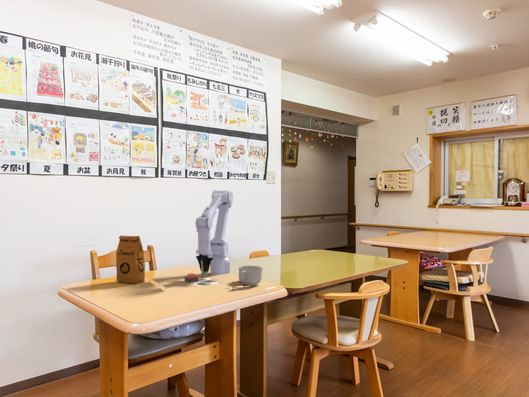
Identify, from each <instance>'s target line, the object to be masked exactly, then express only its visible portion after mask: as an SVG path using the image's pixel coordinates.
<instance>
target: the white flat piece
mask: <svg viewBox="0 0 529 397" xmlns="http://www.w3.org/2000/svg"><path fill="white" fill-rule="evenodd" d="M184 282H186V283H188V284H192V285H193V286H195V287H202V286H203V287H204V286H212V285H218V284H223V282H222V281H219V280H217V279H215V278H212V277H210V276H209V277H208V276H207V277H201V278H199V277H197V276H196V278H192V279H188V278H187V276H185V277H184Z"/></svg>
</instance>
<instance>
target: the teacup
mask: <svg viewBox="0 0 529 397" xmlns="http://www.w3.org/2000/svg"><path fill="white" fill-rule="evenodd" d="M263 269H264V268H263V267H262V266H258V265H249V264H248V265H246V264H245V265H239V266H238V280H239V282H240V283H241V284H243V286H247V287H256V286H258V285H259V284H260V283H261V281H262V277H263V276H262V275H263Z"/></svg>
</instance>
